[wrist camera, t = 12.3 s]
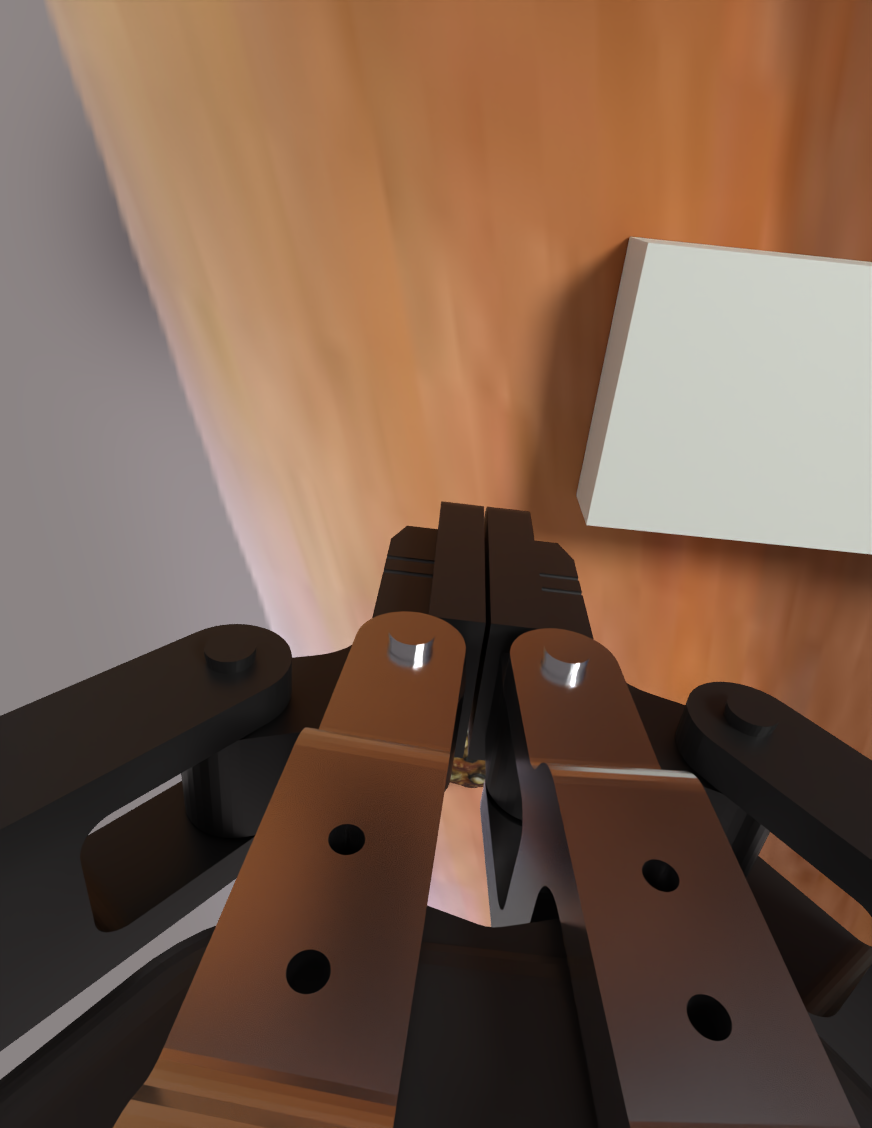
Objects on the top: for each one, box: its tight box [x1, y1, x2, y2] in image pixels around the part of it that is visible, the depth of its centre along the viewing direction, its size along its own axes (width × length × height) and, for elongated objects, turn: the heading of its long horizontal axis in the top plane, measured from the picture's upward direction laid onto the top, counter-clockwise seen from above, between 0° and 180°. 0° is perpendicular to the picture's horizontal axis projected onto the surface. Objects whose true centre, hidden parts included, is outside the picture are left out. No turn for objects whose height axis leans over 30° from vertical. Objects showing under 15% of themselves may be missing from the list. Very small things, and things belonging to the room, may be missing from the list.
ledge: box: [576, 237, 872, 554], centre depth 31 cm, size 12×16×4 cm
